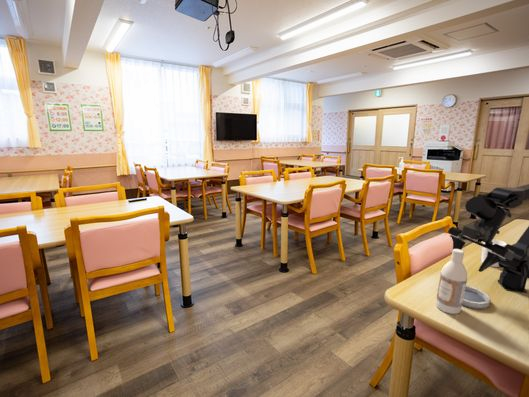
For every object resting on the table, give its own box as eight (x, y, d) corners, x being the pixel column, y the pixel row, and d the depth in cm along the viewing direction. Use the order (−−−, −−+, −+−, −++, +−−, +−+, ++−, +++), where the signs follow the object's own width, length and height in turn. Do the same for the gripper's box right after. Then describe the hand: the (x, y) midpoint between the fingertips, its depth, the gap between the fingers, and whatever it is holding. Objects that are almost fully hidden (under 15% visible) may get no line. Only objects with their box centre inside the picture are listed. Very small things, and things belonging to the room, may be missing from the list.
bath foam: (430, 304, 94) (440, 247, 89) (444, 299, 97) (454, 244, 92) (450, 317, 88) (462, 257, 83) (465, 311, 90) (477, 253, 86)
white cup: (503, 269, 118) (508, 247, 116) (479, 264, 122) (484, 242, 120) (500, 262, 124) (505, 240, 122) (478, 257, 129) (482, 237, 126)
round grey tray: (480, 292, 101) (481, 287, 101) (496, 312, 90) (497, 306, 90) (442, 286, 105) (443, 281, 104) (452, 305, 94) (453, 300, 93)
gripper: (450, 207, 100) (427, 246, 102) (509, 227, 83) (482, 273, 85) (466, 217, 105) (445, 254, 106) (526, 237, 88) (499, 281, 90)
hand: (465, 264), depth 97 cm, fingers open, 9 cm apart
